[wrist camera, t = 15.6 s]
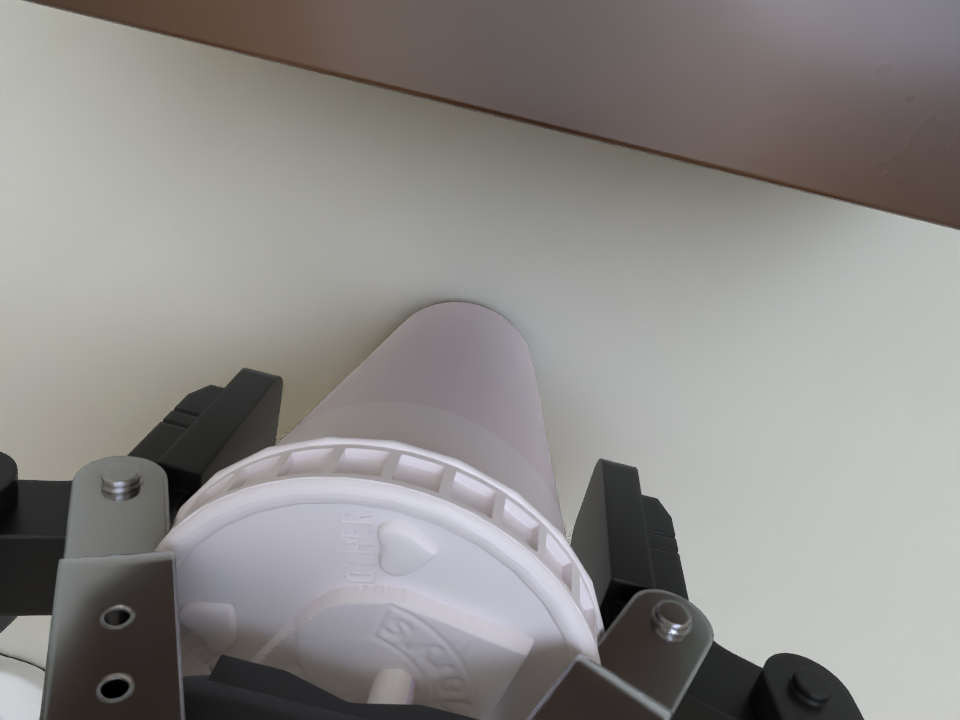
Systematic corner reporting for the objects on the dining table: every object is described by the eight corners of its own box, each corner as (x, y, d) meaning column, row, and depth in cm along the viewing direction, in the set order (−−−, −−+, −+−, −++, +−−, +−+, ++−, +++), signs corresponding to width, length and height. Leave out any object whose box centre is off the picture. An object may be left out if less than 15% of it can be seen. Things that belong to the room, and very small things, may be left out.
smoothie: (625, 444, 19) (735, 1306, 6) (396, 510, 21) (112, 1305, 8) (534, 204, 17) (420, 780, 4) (286, 299, 18) (-356, 925, 6)
